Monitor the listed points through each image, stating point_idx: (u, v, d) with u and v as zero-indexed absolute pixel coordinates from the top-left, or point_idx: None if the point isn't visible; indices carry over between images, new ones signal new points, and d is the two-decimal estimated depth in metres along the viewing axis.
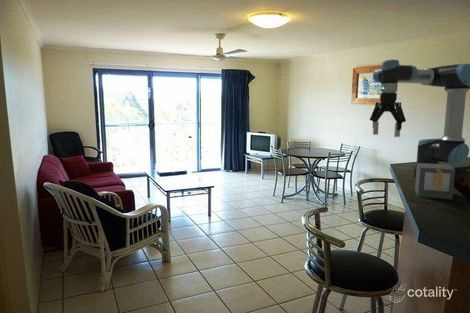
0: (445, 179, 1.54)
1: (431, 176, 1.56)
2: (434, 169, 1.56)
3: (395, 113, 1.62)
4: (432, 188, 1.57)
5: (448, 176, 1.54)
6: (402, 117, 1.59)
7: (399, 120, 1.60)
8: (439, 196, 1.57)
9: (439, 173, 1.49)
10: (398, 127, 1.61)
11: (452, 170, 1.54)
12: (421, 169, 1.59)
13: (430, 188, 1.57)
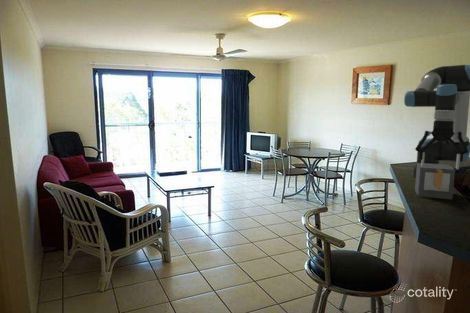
0: (445, 179, 1.54)
1: (431, 176, 1.56)
2: (434, 169, 1.56)
3: (455, 143, 1.47)
4: (432, 188, 1.57)
5: (448, 176, 1.54)
6: (466, 148, 1.46)
7: (463, 151, 1.46)
8: (439, 196, 1.57)
9: (439, 173, 1.49)
10: (461, 159, 1.47)
11: (452, 170, 1.54)
12: (421, 169, 1.59)
13: (430, 188, 1.57)
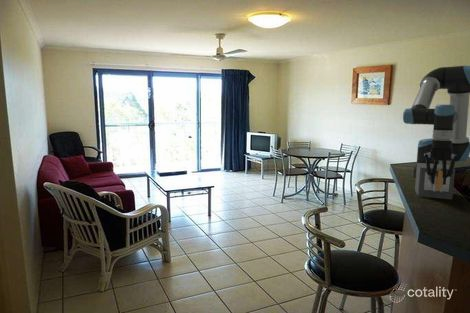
0: None
1: None
2: None
3: (445, 165, 1.50)
4: (432, 188, 1.57)
5: None
6: None
7: (446, 175, 1.50)
8: (439, 196, 1.57)
9: (439, 173, 1.49)
10: (444, 182, 1.51)
11: None
12: (421, 169, 1.59)
13: (430, 188, 1.57)
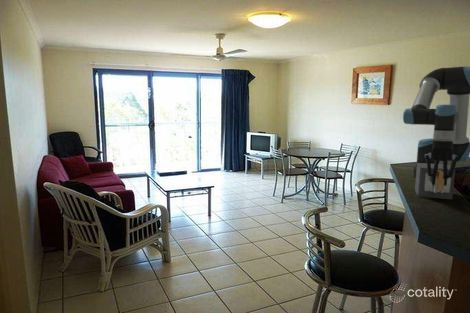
0: None
1: None
2: None
3: (446, 166, 1.48)
4: (433, 189, 1.55)
5: None
6: None
7: (447, 176, 1.48)
8: (439, 196, 1.57)
9: (440, 174, 1.47)
10: (445, 183, 1.49)
11: None
12: (421, 169, 1.59)
13: (431, 189, 1.55)
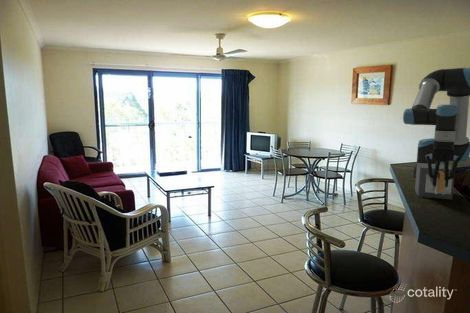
0: None
1: None
2: None
3: None
4: (434, 190, 1.52)
5: None
6: None
7: (449, 178, 1.46)
8: (439, 196, 1.57)
9: (441, 175, 1.45)
10: (446, 184, 1.46)
11: None
12: (421, 169, 1.59)
13: (432, 191, 1.53)
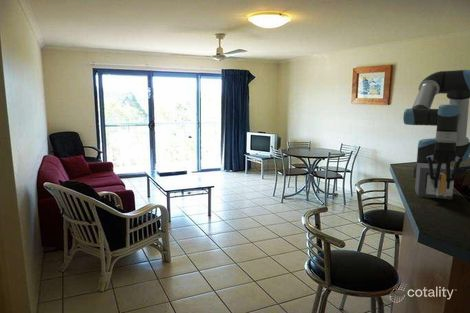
0: None
1: None
2: (434, 169, 1.56)
3: (449, 169, 1.42)
4: (435, 192, 1.49)
5: None
6: None
7: (450, 179, 1.42)
8: (439, 196, 1.57)
9: (442, 177, 1.42)
10: (448, 186, 1.43)
11: (452, 170, 1.54)
12: (421, 169, 1.59)
13: (433, 193, 1.49)
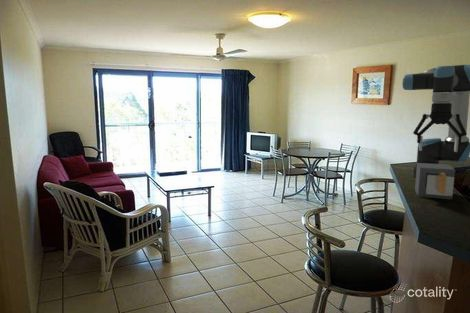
0: (449, 183, 1.47)
1: (434, 180, 1.49)
2: (434, 169, 1.56)
3: (453, 126, 1.46)
4: (435, 192, 1.49)
5: (452, 180, 1.46)
6: (464, 130, 1.45)
7: (461, 133, 1.45)
8: (439, 196, 1.57)
9: (442, 177, 1.42)
10: (459, 141, 1.46)
11: (452, 170, 1.54)
12: (421, 169, 1.59)
13: (433, 193, 1.49)
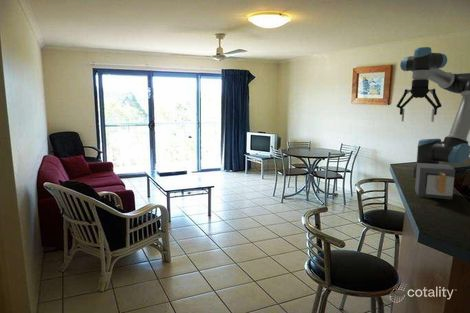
0: (449, 183, 1.47)
1: (434, 180, 1.49)
2: (434, 169, 1.56)
3: (430, 99, 1.70)
4: (435, 192, 1.49)
5: (452, 180, 1.46)
6: None
7: (437, 105, 1.69)
8: (439, 196, 1.57)
9: (442, 177, 1.42)
10: (435, 112, 1.69)
11: (452, 170, 1.54)
12: (421, 169, 1.59)
13: (433, 193, 1.49)
